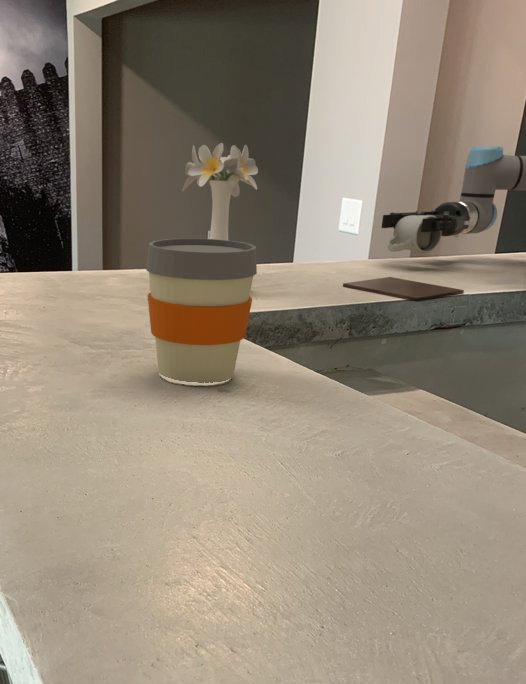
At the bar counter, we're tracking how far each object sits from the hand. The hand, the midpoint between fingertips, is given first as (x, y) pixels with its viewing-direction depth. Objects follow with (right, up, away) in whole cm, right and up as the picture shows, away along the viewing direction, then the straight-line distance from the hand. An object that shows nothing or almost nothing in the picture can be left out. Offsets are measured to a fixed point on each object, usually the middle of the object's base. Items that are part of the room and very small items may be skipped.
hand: (403, 223), depth 165 cm
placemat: (-6, -19, -18) cm, 27 cm away
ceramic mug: (+3, -4, +5) cm, 8 cm away
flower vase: (-43, -21, -23) cm, 53 cm away
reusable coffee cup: (-49, -45, -73) cm, 99 cm away
